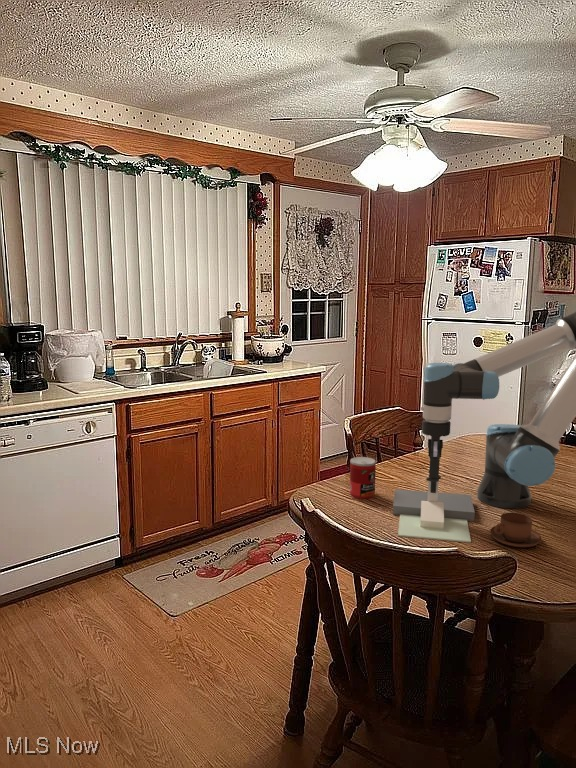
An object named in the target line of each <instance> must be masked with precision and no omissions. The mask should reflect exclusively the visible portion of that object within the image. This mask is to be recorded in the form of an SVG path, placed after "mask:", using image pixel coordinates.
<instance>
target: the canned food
mask: <svg viewBox="0 0 576 768" xmlns="http://www.w3.org/2000/svg"><path fill="white" fill-rule="evenodd" d="M376 462H377V461H376V460H375V459H374V458H371V457H367V456H356V457H352V458H350V461H349V463H350V464H349V493H350V495H351V497H352V498H356V499H360V500H363V499H364V500H367V499H372V498H373V497H375V494H376V470H377V469H376V468H377V467H376Z"/></svg>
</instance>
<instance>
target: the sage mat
mask: <svg viewBox="0 0 576 768" xmlns="http://www.w3.org/2000/svg"><path fill="white" fill-rule="evenodd" d="M420 521H421V516H416V515H404V514H400V515H399V521H398V531H397V537H403V538H404V537H405V538H406V537H407V538H416V539H426V540H438V541H449V542H458V543H459V542H460V543H472V540H471V534H470V530H469V525H468V521H467V520H464V519H452V518H444V529H442V528H431V527H420Z"/></svg>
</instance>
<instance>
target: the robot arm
mask: <svg viewBox="0 0 576 768" xmlns="http://www.w3.org/2000/svg"><path fill="white" fill-rule="evenodd" d="M575 349H576V311H575V312H572V313H570V314H568V315H566V316H564V317H561V318H558V319H557V320H556V322H555V324H554V325H551V326H549V327H545V328H544V329H542V330H540V331H537V332H535V333H532V334H530V335H528V336H525V337H523V338H521V339H519V340H516V341H514V342H511V343H509V344H507V345H504V346H502V347H499V348H497V349H495V350H493V351H490V352H487V353H486V354H483V355H481V356H479V357H476V358H474V359H471V360H468V361H467V362H463V363H462V362H458V363H453V364H451V363H449V362H448V363H447V362H431V363H427V364H426V365H425V368H424V377H423V396H422V397H423V403H422V404H423V405H422V406H421V407H420V411H422V419H423V420H422V421H421V433H422V434H423V435H425V436H430V438H428V439H427V447H428V457H429V467H428V468H429V469H428V470H429V471H428V477H426V478H425V479H426V480H425V481H426V482H428V483H427V492H428V501H432V502H438V493H439V481H440V480H441V479H442V478H441V477H442V476H441V475H440V461H441V460H440V459H441V458H442V452H443V451H442V449H443V447H444V442H443V439H441V437H447V436H450V434H451V424H452V423H451V421H450V420H452V406H453V405H452V403H453V399H455V400H456V399H457V400H458V399H459V400H460V399H464V400H467V399H468V400H483V401H485V400H493V399H495V398H497V396H499V395H498V394H499V391H500V377H501V376H503V375H506V374H510V373H511V372H513V371H516V370H519V369H521V368H523V367H526V366H529V365H530V364H533V363H536V362H538V361H540V360H542V359H545V358H548V357H550V356H552V355H554V354H557V353H559V352H562V351H565V350H570V351H573V350H575ZM575 418H576V355H575V356H574V357H573V359H572V360H571V362H570V363H569V365H568V366H567V368H565V370H564V372H563V374H562V375H561V376H560V378H559V379H558V380H557V383H556V384H555V385H554V387H553V388H552V389H551V391H550V393H549V394H548V396H547V397H545V400H544V401H543V403H542V404H541V405H540V407H539V409H538V410H537V412H536V413H535V414H534V415H533V417H532V419H531V420H530V422H529V423H525V424H512V423H511V424H507V423H504V424H503V423H499V424H490V425H489V426H488V427H487V428H486V429H487V430H486V435H485V438H486V441H485V458H484V459H485V460H484V473H483V476H482V478H481V480H480V483H479V485H478V488H477V493H476V494H477V495H476V496H477V497H476V498H477V499H478V500H479V501H480V502H482V503H483V504H486V505H489V506H492V507H496V508H502V509H503V508H504V509H521V508H526V507H529V506H530V505H531V503H532V501H531V500H532V494H531V490H530V487H535V486H539V485H542V484H544V483H546V482H547V481H548V480H549V479H550V478H551V477H552V476H553V474H554V473H555V470H556V460H555V458H556V456H557V454H558V453H559V452H560V450H561V447H560V440H561V438H562V437H563V436H564V434H565V432H566V431H567V429H568V428H569V427H570V425H572V424H571V423H572V422H573V421H574V420H575Z"/></svg>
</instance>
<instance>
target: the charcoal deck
mask: <svg viewBox="0 0 576 768" xmlns="http://www.w3.org/2000/svg"><path fill="white" fill-rule="evenodd" d="M472 499H473V498H472V495H471V494H463V493H449V492H438V502H444V518H452V519H464V520H467V522H468V521H469V522H475V516H476V515H475V514H476V512H475V508H474V504H473V503H474V502H473V500H472ZM421 501H428V491H423V490H408V489H407V490H406V489H398V488H396V489H394V496H393V504H392V515H395V516H396V515H397V516H400V514H404V515H416V516H421Z"/></svg>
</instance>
